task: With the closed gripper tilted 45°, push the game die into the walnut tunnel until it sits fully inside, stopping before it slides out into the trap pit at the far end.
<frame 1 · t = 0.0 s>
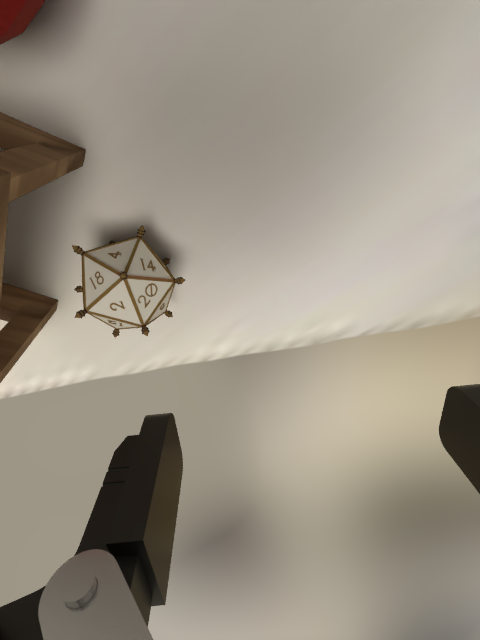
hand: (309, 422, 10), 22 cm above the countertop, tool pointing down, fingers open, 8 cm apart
game die: (138, 264, 31), on the countertop
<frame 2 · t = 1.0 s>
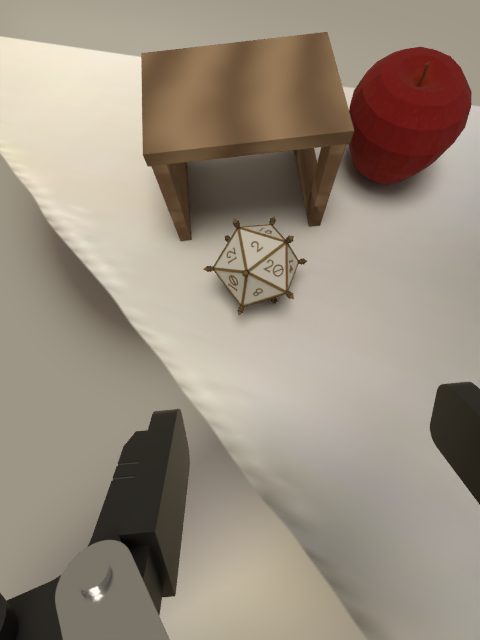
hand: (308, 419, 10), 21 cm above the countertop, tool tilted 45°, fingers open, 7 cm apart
tunnel: (244, 191, 38), on the countertop
apple: (379, 167, 39), on the countertop
game die: (256, 283, 35), on the countertop
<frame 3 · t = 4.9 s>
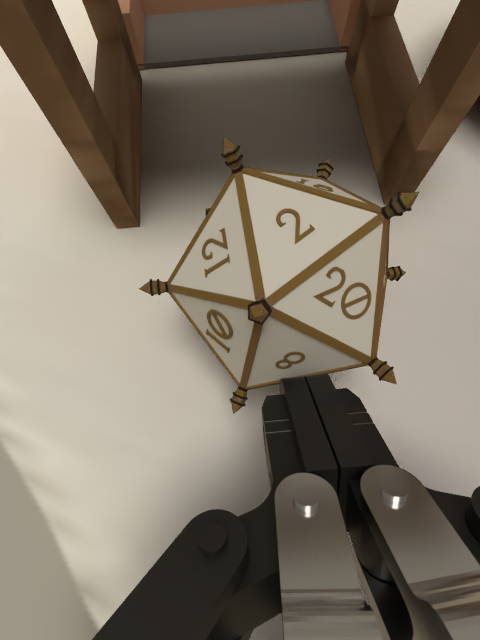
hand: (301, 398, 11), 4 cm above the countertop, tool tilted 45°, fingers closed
tunnel: (252, 136, 19), on the countertop
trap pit: (238, 29, 23), on the countertop
game die: (275, 318, 16), on the countertop, touching gripper
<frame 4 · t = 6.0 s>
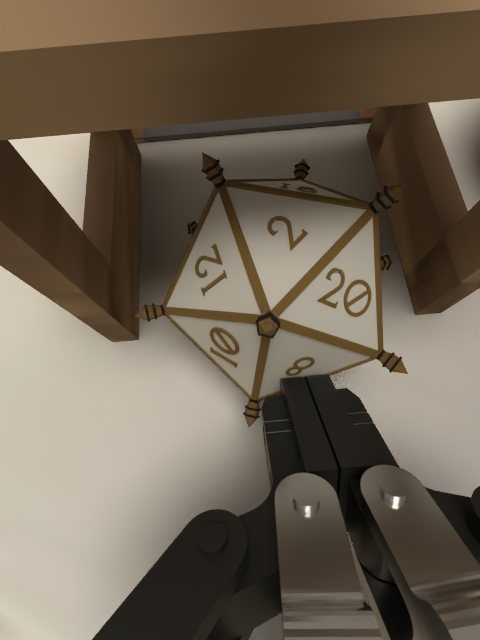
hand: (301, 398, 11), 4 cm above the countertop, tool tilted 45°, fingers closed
tunnel: (264, 227, 17), on the countertop
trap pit: (247, 95, 20), on the countertop
game die: (271, 323, 16), on the countertop, touching gripper
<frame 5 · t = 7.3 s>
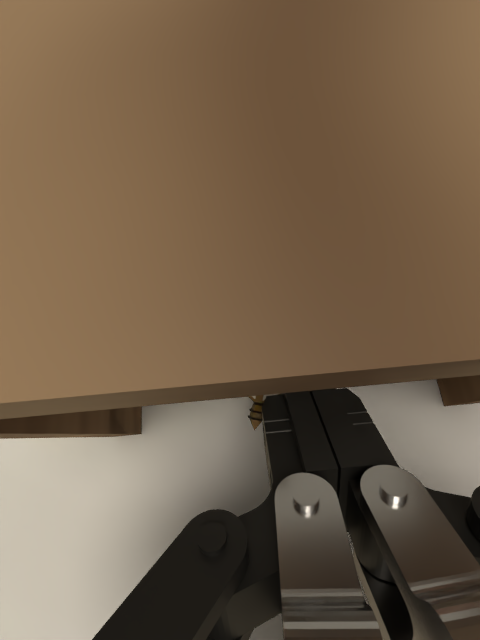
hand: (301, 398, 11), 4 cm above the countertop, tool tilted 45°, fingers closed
tunnel: (277, 301, 16), on the countertop
game die: (269, 324, 16), on the countertop, touching gripper
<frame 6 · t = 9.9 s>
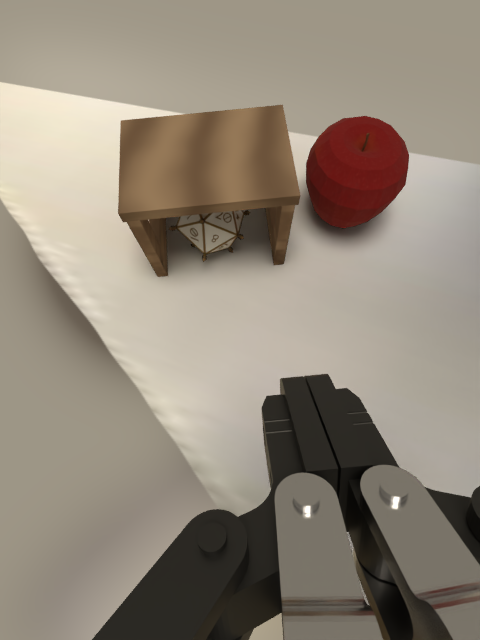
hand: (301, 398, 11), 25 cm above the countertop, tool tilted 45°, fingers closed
tunnel: (217, 232, 43), on the countertop
apple: (339, 210, 43), on the countertop
game die: (214, 240, 42), on the countertop
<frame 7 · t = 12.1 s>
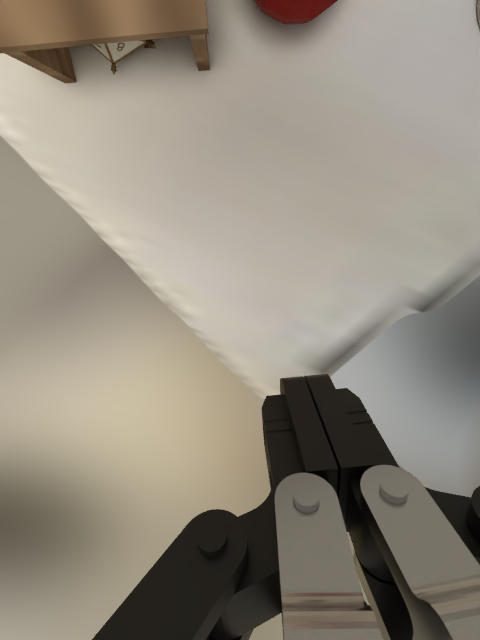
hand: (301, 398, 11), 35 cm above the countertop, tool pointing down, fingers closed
tunnel: (125, 9, 33), on the countertop
game die: (124, 24, 34), on the countertop
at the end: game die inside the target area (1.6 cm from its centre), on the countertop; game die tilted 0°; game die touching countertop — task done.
